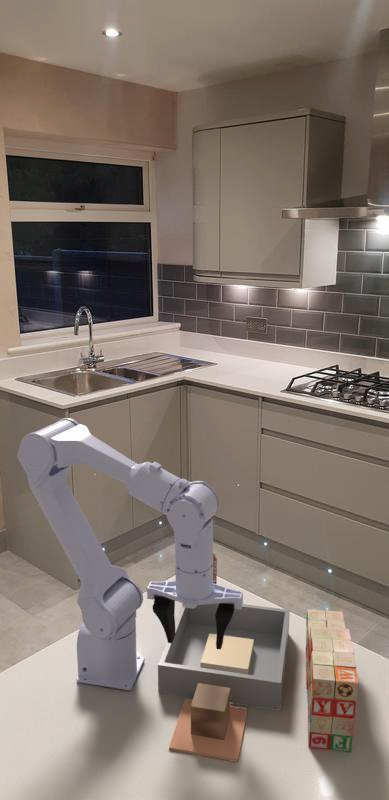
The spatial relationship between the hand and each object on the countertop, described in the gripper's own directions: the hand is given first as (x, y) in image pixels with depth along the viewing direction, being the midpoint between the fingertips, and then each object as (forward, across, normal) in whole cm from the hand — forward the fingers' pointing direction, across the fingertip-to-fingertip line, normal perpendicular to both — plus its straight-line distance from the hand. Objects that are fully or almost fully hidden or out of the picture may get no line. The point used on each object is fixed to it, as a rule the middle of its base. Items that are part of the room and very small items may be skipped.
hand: (195, 642), depth 100 cm
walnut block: (+10, +3, -5) cm, 12 cm away
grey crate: (+11, +3, +10) cm, 15 cm away
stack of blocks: (+11, +20, +5) cm, 24 cm away
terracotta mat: (+10, +3, -6) cm, 12 cm away
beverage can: (+10, -5, +25) cm, 28 cm away
